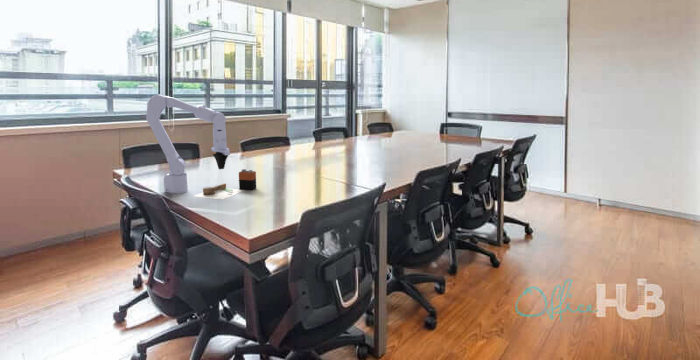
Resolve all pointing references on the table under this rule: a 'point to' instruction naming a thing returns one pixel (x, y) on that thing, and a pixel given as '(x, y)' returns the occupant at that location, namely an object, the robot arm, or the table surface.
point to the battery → (247, 180)
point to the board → (221, 193)
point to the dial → (213, 189)
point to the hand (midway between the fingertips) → (221, 168)
